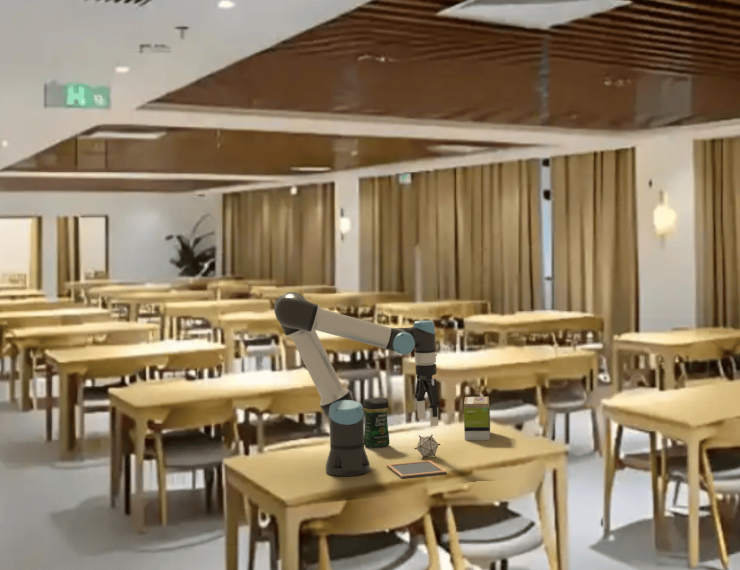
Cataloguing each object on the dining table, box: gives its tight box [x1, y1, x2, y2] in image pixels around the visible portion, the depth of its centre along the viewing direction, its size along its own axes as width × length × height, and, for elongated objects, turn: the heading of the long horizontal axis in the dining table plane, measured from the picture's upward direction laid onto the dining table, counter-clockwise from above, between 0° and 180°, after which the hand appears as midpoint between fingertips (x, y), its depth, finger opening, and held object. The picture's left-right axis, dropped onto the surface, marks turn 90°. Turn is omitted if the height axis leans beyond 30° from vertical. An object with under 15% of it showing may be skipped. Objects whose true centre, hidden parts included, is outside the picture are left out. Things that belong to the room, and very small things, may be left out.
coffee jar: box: [362, 397, 390, 449], centre depth 350 cm, size 10×8×19 cm
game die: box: [414, 434, 442, 459], centre depth 330 cm, size 9×8×10 cm
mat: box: [386, 460, 447, 479], centre depth 312 cm, size 16×16×1 cm
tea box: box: [463, 396, 491, 441], centre depth 363 cm, size 15×10×15 cm, turn 172°
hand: (427, 422), depth 330 cm, fingers open, 13 cm apart
